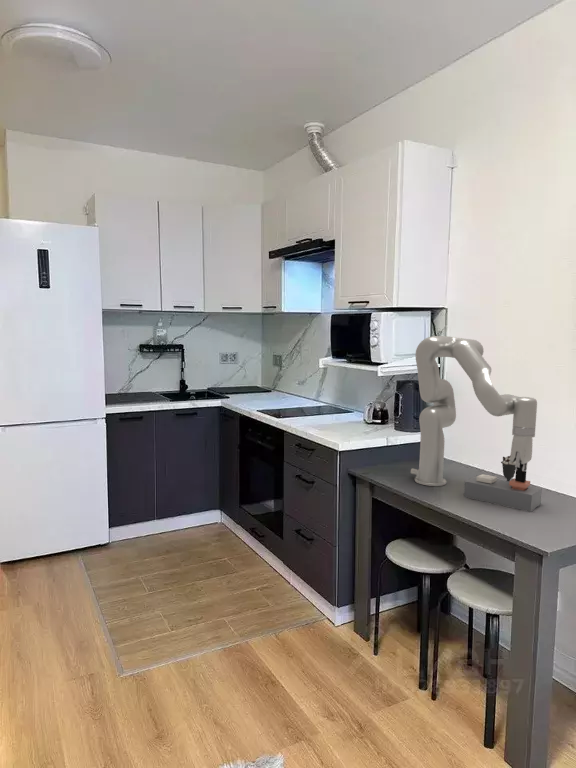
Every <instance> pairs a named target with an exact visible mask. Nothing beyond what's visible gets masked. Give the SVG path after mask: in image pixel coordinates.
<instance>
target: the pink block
mask: <svg viewBox="0 0 576 768" xmlns="http://www.w3.org/2000/svg"><path fill="white" fill-rule="evenodd" d="M509 485H510V486H512V488H513V489H518V490H523V491H525V490H526V489H527V487H528V486H531V480H526V481H525V482H518V481H515V478H514V477H513V478H512V479H510V481H509Z"/></svg>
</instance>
